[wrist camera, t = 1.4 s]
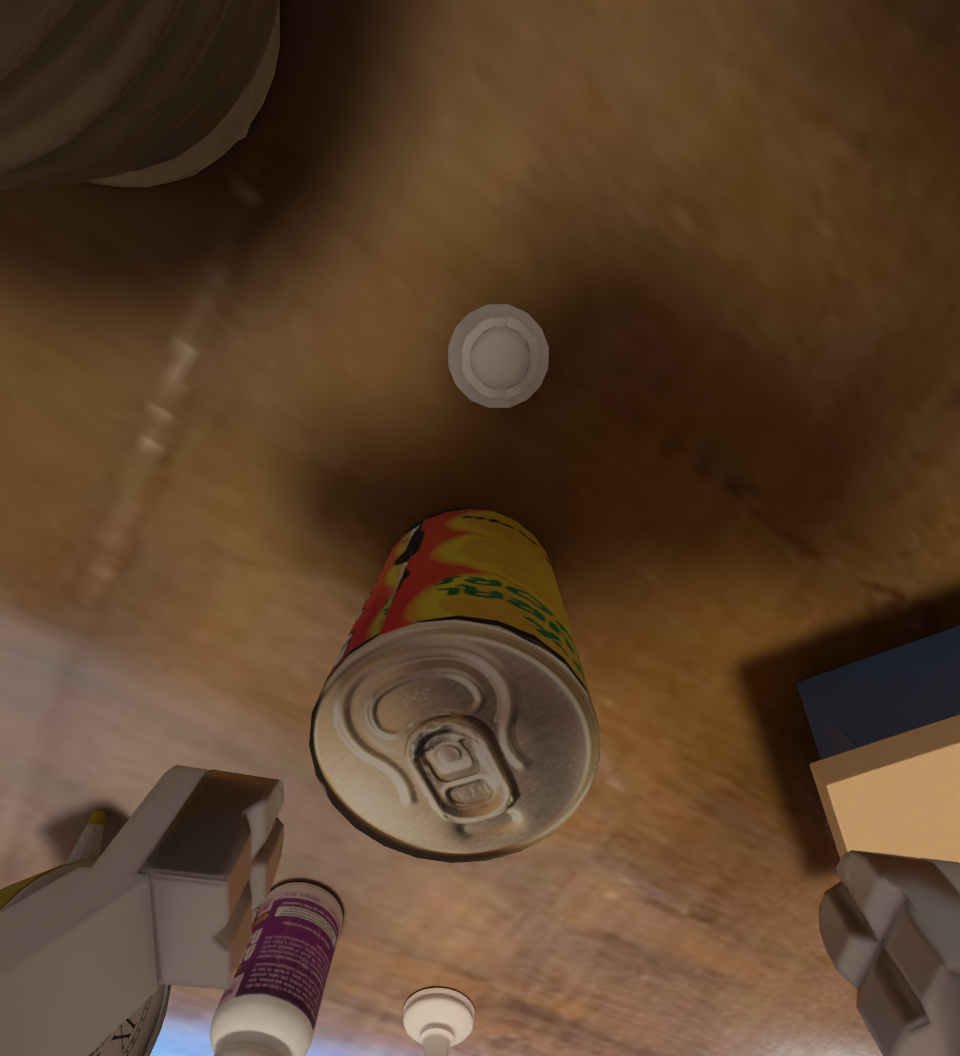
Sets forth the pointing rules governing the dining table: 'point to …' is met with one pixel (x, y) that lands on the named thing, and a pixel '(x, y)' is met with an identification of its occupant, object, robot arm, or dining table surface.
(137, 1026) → the alarm clock
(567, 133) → the dining table surface
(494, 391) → the rook chess piece
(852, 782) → the board box
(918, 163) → the dining table surface
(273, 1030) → the pill bottle
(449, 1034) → the chess piece
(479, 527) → the beverage can
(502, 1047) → the dining table surface
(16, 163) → the vase
